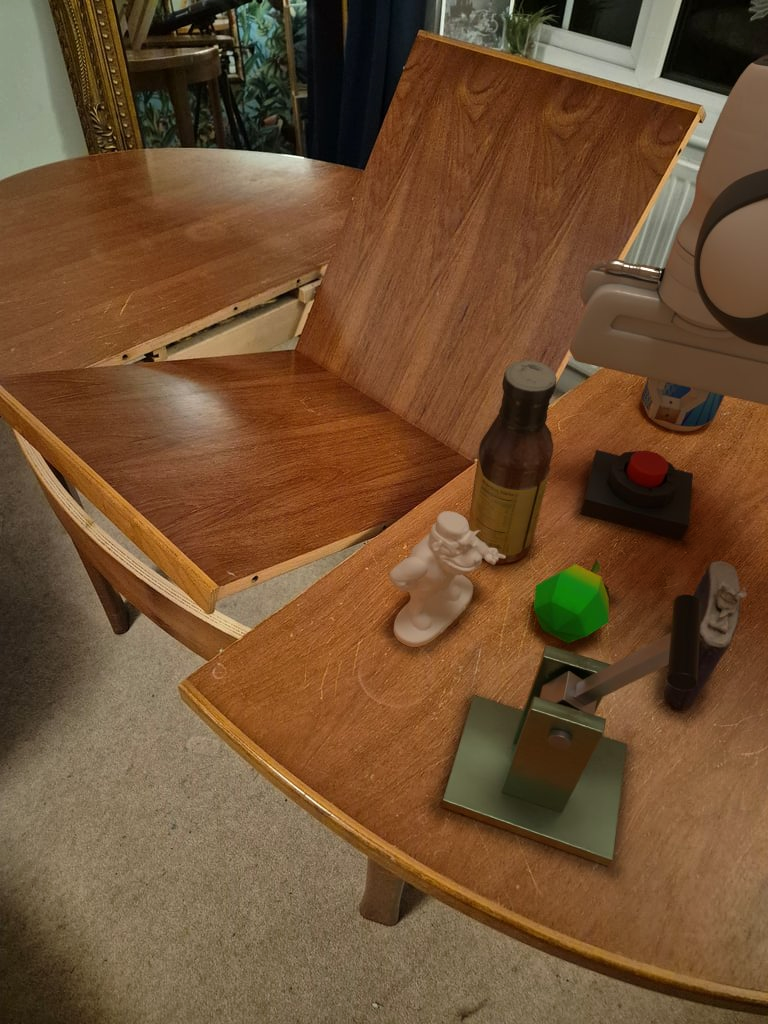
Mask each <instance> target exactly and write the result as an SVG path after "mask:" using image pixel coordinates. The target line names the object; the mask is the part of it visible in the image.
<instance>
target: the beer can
mask: <svg viewBox="0 0 768 1024" xmlns="http://www.w3.org/2000/svg"><path fill="white" fill-rule="evenodd" d="M646 379H647V380H646V382H645V385H644V387H643V390H642V393H641V402H642V405H643V406H644V411H645V413H646V415H647V416H648V417H649V411H650V407H651V404H652V399H651V396H650V393H649V390H648V381H649V378H646ZM690 391H691V388H690V387H685V386H681V385H677V384H672V383H668V382H666V385H665V387H664V389H663V390H662V393H663V395H666V396H670V397H674V398H679V399H681V398H682V397H683V396H684V395H686V394H687V393H688V392H690ZM724 397H725V396H724V395H720V394H716V393H711V392H709V394H708V397H707V399H706V401H704V402H703V403H701V404H699V405H698V406H696V407H695V408H693V409H692V410H690V411H689V412H686V414H685V417H684V419H683V421H682V423H681V425H678V424H675V423H671V422H667V421H662V420H657V419H654V418H650V419H651V421H653V422H654V423H655V424H657V425H658V426H660V427H663V428H665V429H668V430H670V431H676V432H684V433H685V432H693V431H696V430H698V429H700V428H702V427H703V426H705V425H708V424H709V423H711V422H713V420H714V419H715V417H716V415H717V414H718V413H717V412H718V410H719V409H720V406H721V404H722V402H723V400H724Z"/></svg>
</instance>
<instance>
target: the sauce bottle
mask: <svg viewBox="0 0 768 1024" xmlns="http://www.w3.org/2000/svg"><path fill="white" fill-rule="evenodd" d="M501 386H502V391H503V393H502V398H501V405H500V408H499V411H498V415H497V416H496V417H495V418H494V421H493V422H492V423H491V425H490V426H489V428H488V430H487V431H486V433H485V434H484V436H483V438H482V439H481V440H480V442H479V443H480V444H479V448H478V455H477V460H476V469H475V475H474V482H473V489H472V490H473V491H472V495H471V503H470V510H469V517H468V524H469V530H471V531H473V532H474V531H477V530H481V532H479V533H477V534H476V535H475V536H476V537H477V538H479V539H480V540H481V541H482V542H484V543H485V544H486V545H487V546H488V547H489V548H496V549H497V550H498V553H499V554H502V555H505V556H506V558H504V559H502V558H498V559H499V560H498V561H497V562H496V564H498V565H499V564H508V563H513V562H516V561H519V560H522V559H523V557H525V556H526V555H527V553H528V552H529V549H530V547H531V544H532V542H533V541H534V537H535V533H536V529H537V525H538V521H539V517H540V513H541V509H542V504H543V500H544V497H545V492H546V488H547V483H548V479H549V475H550V471H551V462H552V458H553V454H554V442H553V437H552V431H551V430H550V428H549V427H548V426H547V423H546V422H547V421H548V420H547V419H548V410H549V407H550V401H551V399H552V396H553V395H555V391H556V387H557V374H556V372H555V371H554V370H553V369H552V368H551V367H550V366H549V365H547V364H544V363H543V362H539V361H534V360H519V361H515V362H513V363H511V364H509V365H508V367H507V368H506V369H505V371H504V374H503V379H502V385H501Z"/></svg>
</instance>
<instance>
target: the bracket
mask: <svg viewBox="0 0 768 1024" xmlns="http://www.w3.org/2000/svg"><path fill="white" fill-rule="evenodd" d="M610 665H611V663H608V662H605V661H602V660H598V659H595V658H593V657H588V656H584V655H581V654H579V653H575V652H571V651H569V650H565V649H562V648H558V647H555V646H551V645H548V644H546V645H545V646H544V649H543V652H542V655H541V657H540V660H539V663H538V666H537V669H536V672H535V674H534V678H533V679H532V680H533V681H532V684H531V686H530V689H529V691H528V695H527V698H526V701H525V702H524V703H525V704H524V707H523V709H519V708H516V707H513V706H510V705H507V704H504V703H500V702H497V701H495V700H492V699H489V698H485V697H483V696H479V695H476V694H473V695H472V698H471V702H470V705H469V710H468V712H467V716H466V718H465V722H464V726H463V729H462V732H461V736H460V739H459V742H458V745H457V749H456V751H455V756H454V758H453V762H452V766H451V769H450V771H449V776H448V780H447V783H446V786H445V789H444V793H443V796H442V799H441V802H440V803H441V804H440V807H441V808H443V809H446V810H449V811H451V812H453V813H457V814H460V815H463V816H466V817H469V818H471V819H474V820H477V821H480V822H482V823H484V824H487V825H491V826H494V827H497V828H499V829H501V830H505V831H507V832H510V833H514V834H516V835H519V836H522V837H525V838H528V839H530V840H533V841H535V842H539V843H542V844H544V845H547V846H550V847H552V848H555V849H558V850H561V851H564V852H567V853H569V854H572V855H575V856H578V857H580V858H583V859H586V860H589V861H592V862H595V863H598V864H600V865H603V866H605V867H609V866H610V865H611V864H612V862H613V861H614V857H615V856H614V855H615V848H616V839H617V832H618V831H617V830H618V822H619V815H620V806H621V798H622V789H623V782H624V775H625V765H626V759H627V749H628V744H627V743H625V742H622V741H619V740H615V739H613V738H610V737H606V736H604V734H605V728H606V722H607V720H606V718H605V717H603V716H599V715H595V714H594V715H592V714H589V713H586V712H583V711H580V710H576V709H573V708H570V707H567V706H564V705H561V704H558V703H554V702H551V701H548V700H545V699H542V698H540V695H541V690H542V686H543V685H545V684H546V683H548V682H550V681H552V680H553V679H555V678H557V677H559V676H561V675H562V674H564V673H566V672H568V671H570V672H572V673H573V674H575V675H576V676H578V677H580V678H581V679H583V680H584V679H585V678H587V677H589V676H591V675H593V674H595V673H597V672H598V671H600V670H602V669H604V668H606V667H608V666H610ZM602 700H603V697H602V698H600V699H598V700H597V702H596V708H595V713H596V712H597V710H598V708H599V705H601V701H602Z"/></svg>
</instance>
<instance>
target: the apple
mask: <svg viewBox="0 0 768 1024" xmlns="http://www.w3.org/2000/svg"><path fill="white" fill-rule="evenodd" d="M601 570H602V569H601V566H600V563H599V561H598V559H596V560H595V562H594V563H593V565H592V567H591V569H590V570H588V569H587V568H585V567H582V566H580V565H578V564H576V563H574V564H573V565H570V566H568V567H567V568H566V567H565V568H564V569H562V570H560V571H558V572H556V573H555V574H553V575H551V576H549V577H548V578H546V579H545V580H544V579H543V580H542V581H541V582H539V583H537V584H535V591H534V602H533V611H534V613H535V615H536V618H537V620H538V623H539V625H540V627H541V630H542V631H544V632H546V633H547V634H550V635H552V636H553V637H555V638H557V639H559V640H561V641H562V642H565V643H566V644H570V643H571V642H572V643H573V642H575V641H579V640H580V639H583V638H586V637H588V636H589V635H591V634H593V633H594V632H595V631H597V630H599V629H600V628H602V627H604V626H605V625H607V624H608V623H609V622H610V619H609V617H610V616H609V615H610V613H609V612H610V611H609V610H610V609H609V603H610V602H609V600H611V598H610V589H609V587H608V586H607V585H606V584H605V582H604V580H603V578H602V576H601V575H598V572H600V571H601Z"/></svg>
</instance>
